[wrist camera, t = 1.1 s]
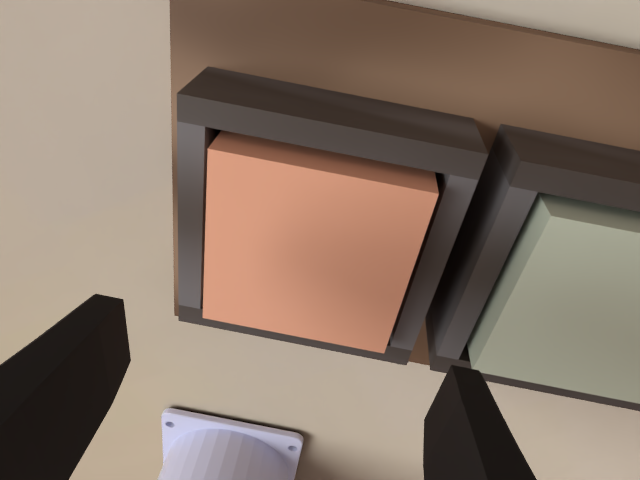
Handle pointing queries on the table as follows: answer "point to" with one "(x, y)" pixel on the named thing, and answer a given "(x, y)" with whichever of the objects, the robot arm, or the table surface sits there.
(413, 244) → the terracotta key
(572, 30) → the table surface
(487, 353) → the sage key
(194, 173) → the key board
